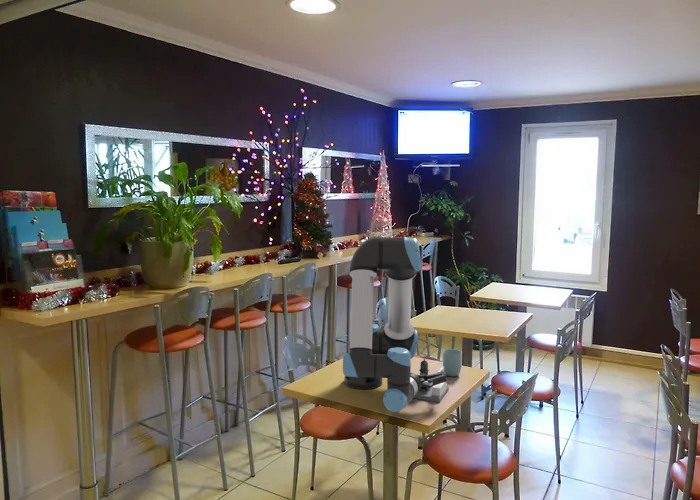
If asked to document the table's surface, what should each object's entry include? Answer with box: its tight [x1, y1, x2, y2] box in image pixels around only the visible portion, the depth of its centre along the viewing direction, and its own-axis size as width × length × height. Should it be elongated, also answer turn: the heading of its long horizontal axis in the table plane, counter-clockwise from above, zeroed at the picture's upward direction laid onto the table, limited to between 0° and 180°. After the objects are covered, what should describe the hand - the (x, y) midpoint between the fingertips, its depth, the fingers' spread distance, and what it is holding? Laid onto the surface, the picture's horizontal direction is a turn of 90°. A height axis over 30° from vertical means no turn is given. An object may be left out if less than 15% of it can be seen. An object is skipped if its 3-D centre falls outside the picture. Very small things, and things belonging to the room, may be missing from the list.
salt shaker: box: [418, 358, 431, 392], centre depth 200 cm, size 6×6×12 cm
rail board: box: [412, 381, 450, 403], centre depth 201 cm, size 16×13×4 cm
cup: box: [442, 348, 463, 377], centre depth 220 cm, size 8×8×10 cm
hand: (425, 367), depth 201 cm, fingers open, 13 cm apart
